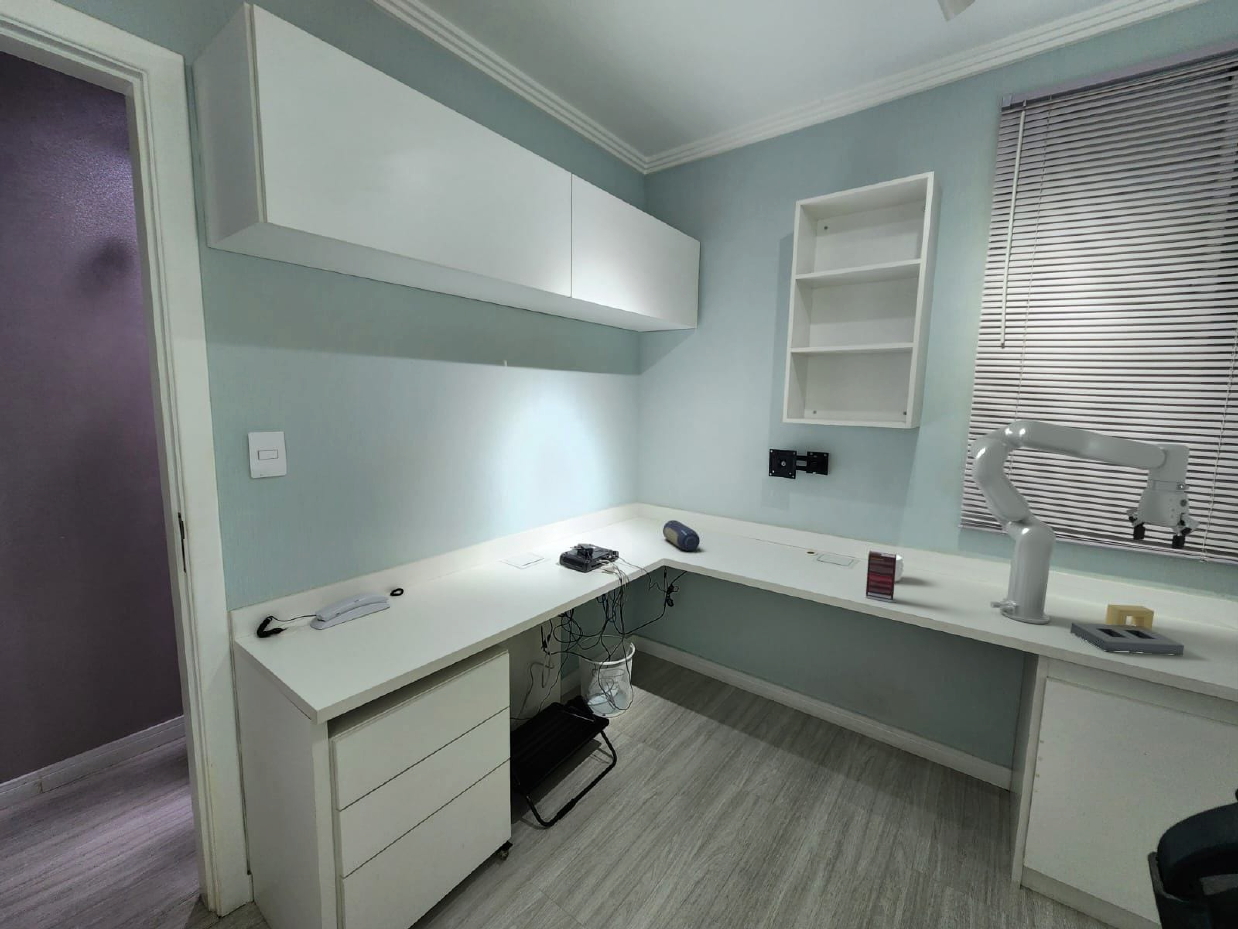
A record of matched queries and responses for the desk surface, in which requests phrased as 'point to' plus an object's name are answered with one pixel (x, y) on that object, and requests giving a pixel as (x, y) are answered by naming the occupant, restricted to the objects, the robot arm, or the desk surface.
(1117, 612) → the yellow u-shaped block
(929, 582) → the desk surface
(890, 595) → the supplement box
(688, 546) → the portable speaker
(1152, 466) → the robot arm
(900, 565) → the mug
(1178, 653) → the grey slotted board
